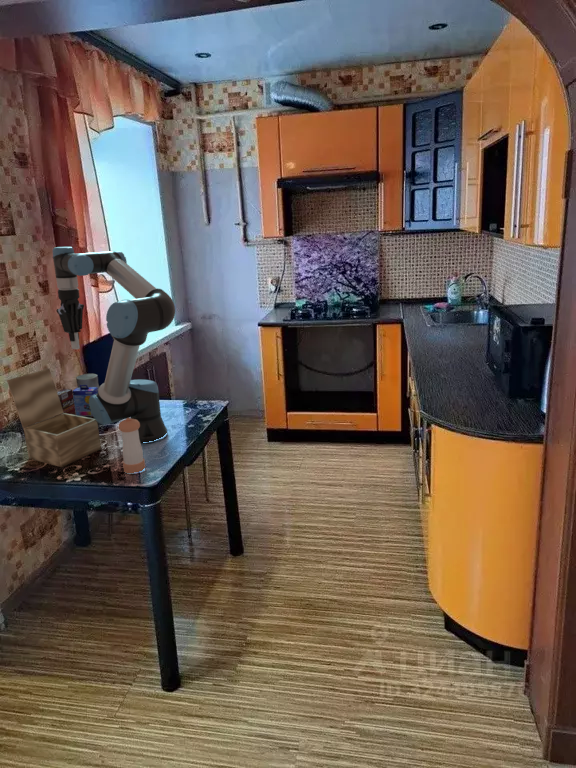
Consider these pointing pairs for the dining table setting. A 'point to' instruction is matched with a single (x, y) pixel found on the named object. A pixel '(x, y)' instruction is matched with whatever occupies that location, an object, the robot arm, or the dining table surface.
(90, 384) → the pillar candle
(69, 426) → the wooden box
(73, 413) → the supplement box
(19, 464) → the dining table surface
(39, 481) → the dining table surface
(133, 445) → the salt shaker
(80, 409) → the ink cartridge box
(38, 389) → the lid flap
